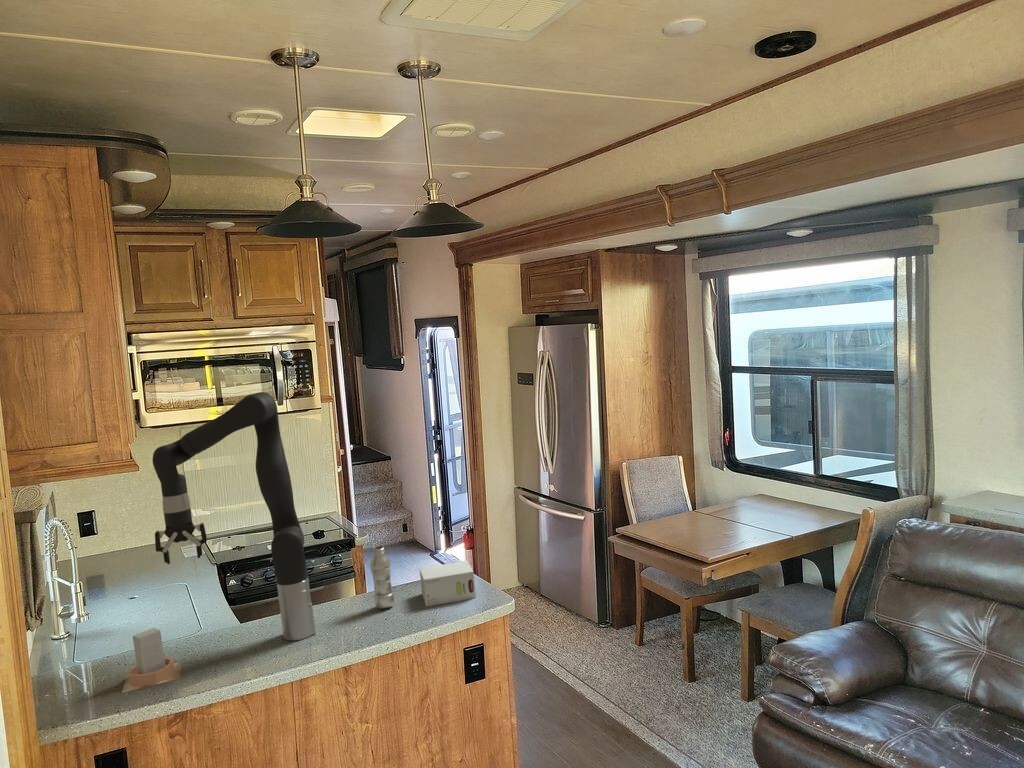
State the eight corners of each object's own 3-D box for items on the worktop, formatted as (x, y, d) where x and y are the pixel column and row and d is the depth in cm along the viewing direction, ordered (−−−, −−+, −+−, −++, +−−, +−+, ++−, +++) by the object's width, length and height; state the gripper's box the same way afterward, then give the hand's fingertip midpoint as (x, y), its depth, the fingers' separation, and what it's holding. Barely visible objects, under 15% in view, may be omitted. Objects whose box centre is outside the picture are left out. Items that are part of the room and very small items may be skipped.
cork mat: (181, 662, 206) (181, 661, 206) (179, 679, 194) (179, 678, 194) (127, 675, 200) (127, 674, 200) (121, 694, 189) (121, 692, 189)
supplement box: (425, 607, 230) (422, 579, 230) (421, 594, 243) (418, 567, 242) (476, 598, 234) (474, 570, 233) (470, 585, 247) (467, 559, 246)
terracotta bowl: (175, 663, 204) (174, 653, 204) (173, 679, 194) (171, 668, 194) (133, 673, 200) (131, 663, 200) (128, 690, 190) (126, 679, 190)
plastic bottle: (397, 608, 232) (390, 548, 231) (376, 612, 229) (369, 552, 228) (393, 601, 238) (386, 543, 237) (373, 606, 235) (366, 547, 234)
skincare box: (160, 668, 201) (154, 627, 200) (166, 671, 198) (161, 630, 197) (137, 677, 196) (131, 635, 196) (144, 680, 194) (138, 638, 193)
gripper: (202, 502, 223) (209, 552, 224) (152, 510, 218) (159, 562, 219) (201, 506, 216) (208, 558, 217) (149, 515, 211) (157, 568, 212)
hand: (183, 560), depth 218 cm, fingers open, 8 cm apart
